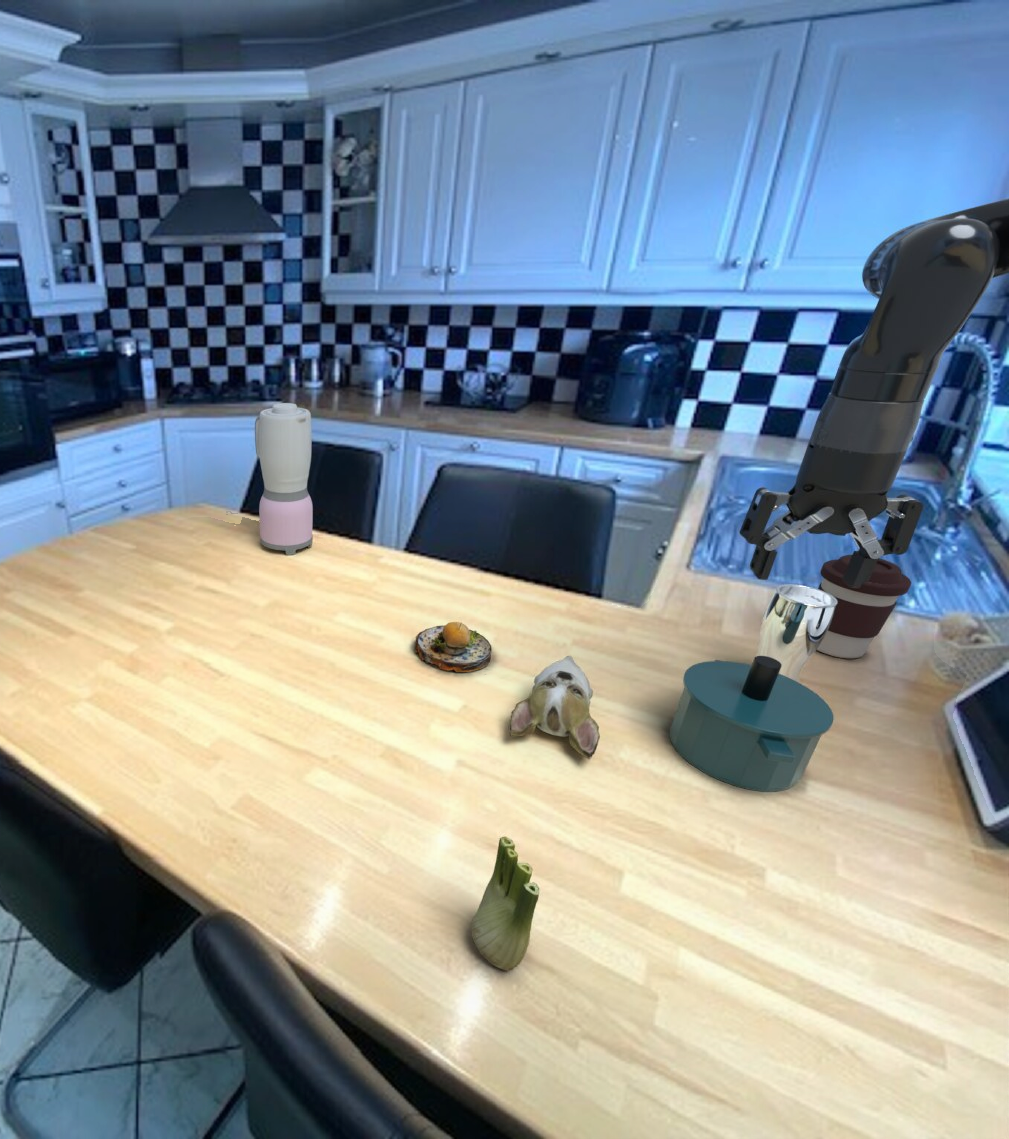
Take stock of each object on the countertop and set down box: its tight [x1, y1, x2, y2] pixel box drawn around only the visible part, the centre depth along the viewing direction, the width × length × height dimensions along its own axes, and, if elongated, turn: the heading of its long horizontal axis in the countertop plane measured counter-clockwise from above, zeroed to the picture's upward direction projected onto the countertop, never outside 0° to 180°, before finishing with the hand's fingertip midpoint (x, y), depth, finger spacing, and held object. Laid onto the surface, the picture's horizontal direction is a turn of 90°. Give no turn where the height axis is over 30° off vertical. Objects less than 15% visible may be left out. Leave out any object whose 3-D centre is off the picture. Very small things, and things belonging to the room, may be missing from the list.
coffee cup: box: [816, 554, 912, 659], centre depth 97 cm, size 10×10×15 cm
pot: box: [669, 659, 822, 793], centre depth 78 cm, size 14×19×8 cm
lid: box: [682, 655, 835, 739], centre depth 75 cm, size 15×15×6 cm
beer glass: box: [756, 583, 838, 683], centre depth 89 cm, size 7×7×15 cm
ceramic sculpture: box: [508, 655, 601, 760], centre depth 84 cm, size 11×9×15 cm
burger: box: [414, 621, 493, 673], centre depth 101 cm, size 12×12×8 cm
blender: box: [254, 402, 314, 556], centre depth 139 cm, size 16×12×32 cm
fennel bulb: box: [470, 836, 540, 972], centre depth 55 cm, size 6×5×12 cm
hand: (804, 580), depth 71 cm, fingers open, 8 cm apart
